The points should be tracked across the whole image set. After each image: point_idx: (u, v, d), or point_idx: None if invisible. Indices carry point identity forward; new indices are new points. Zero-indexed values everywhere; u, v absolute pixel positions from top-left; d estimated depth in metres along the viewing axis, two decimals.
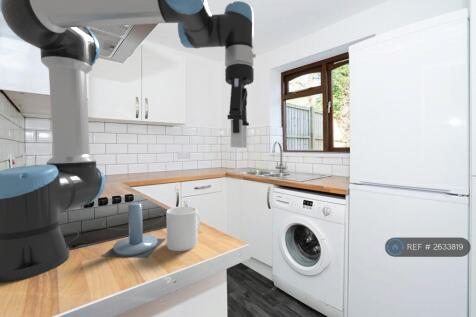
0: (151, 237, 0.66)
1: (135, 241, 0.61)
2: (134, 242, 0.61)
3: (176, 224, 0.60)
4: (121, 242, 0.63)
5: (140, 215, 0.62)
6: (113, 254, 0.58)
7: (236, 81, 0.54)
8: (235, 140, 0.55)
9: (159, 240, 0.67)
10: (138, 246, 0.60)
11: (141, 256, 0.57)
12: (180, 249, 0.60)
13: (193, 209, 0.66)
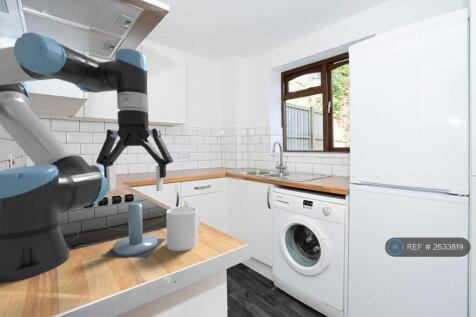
0: (151, 237, 0.66)
1: (135, 241, 0.61)
2: (134, 242, 0.61)
3: (176, 224, 0.60)
4: (121, 242, 0.63)
5: (140, 215, 0.62)
6: (113, 254, 0.58)
7: None
8: None
9: (159, 240, 0.67)
10: (138, 246, 0.60)
11: (141, 256, 0.57)
12: (180, 249, 0.60)
13: (193, 209, 0.66)
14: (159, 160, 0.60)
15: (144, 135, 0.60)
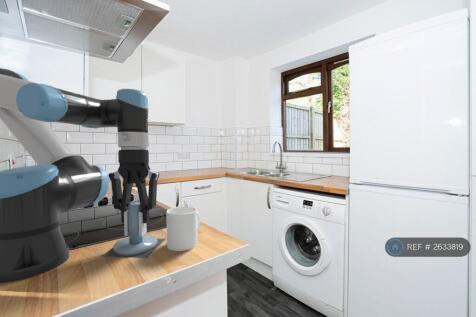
0: (151, 237, 0.66)
1: (135, 241, 0.61)
2: (134, 242, 0.61)
3: (176, 224, 0.60)
4: (121, 241, 0.63)
5: None
6: (113, 254, 0.58)
7: None
8: None
9: (159, 240, 0.67)
10: (138, 246, 0.60)
11: (141, 256, 0.57)
12: (180, 249, 0.60)
13: (193, 209, 0.66)
14: (143, 206, 0.61)
15: (143, 173, 0.61)
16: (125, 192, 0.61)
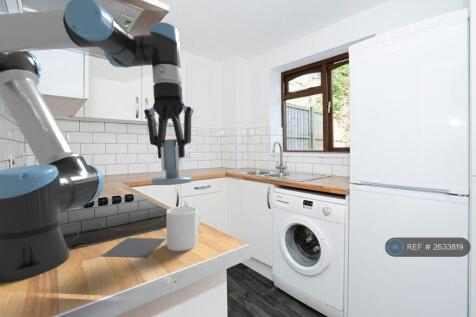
0: None
1: (172, 175, 0.62)
2: (171, 176, 0.62)
3: (176, 224, 0.60)
4: (158, 178, 0.64)
5: None
6: (113, 254, 0.58)
7: None
8: None
9: (159, 240, 0.67)
10: (176, 178, 0.61)
11: (141, 256, 0.57)
12: (180, 249, 0.60)
13: (193, 209, 0.66)
14: (180, 140, 0.62)
15: (178, 108, 0.62)
16: (161, 127, 0.62)
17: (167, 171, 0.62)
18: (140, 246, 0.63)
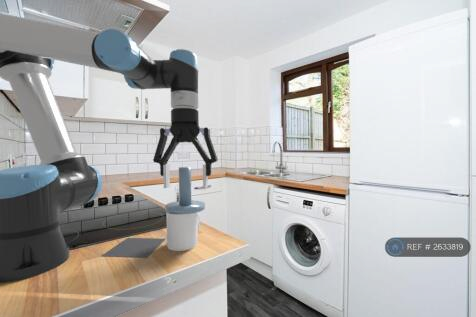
0: (197, 201, 0.69)
1: (186, 202, 0.64)
2: (185, 203, 0.64)
3: (176, 224, 0.60)
4: (171, 204, 0.66)
5: (190, 178, 0.65)
6: (113, 254, 0.58)
7: None
8: None
9: (159, 240, 0.67)
10: (189, 206, 0.63)
11: (141, 256, 0.57)
12: (180, 249, 0.60)
13: None
14: (206, 159, 0.63)
15: (195, 132, 0.63)
16: (170, 148, 0.64)
17: (181, 198, 0.64)
18: (140, 246, 0.63)
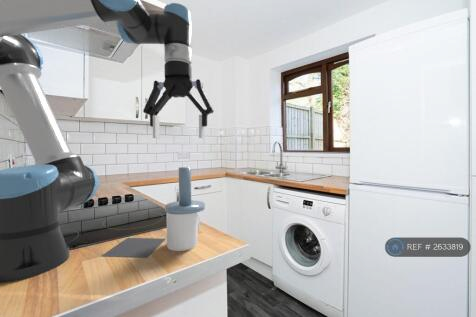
0: (197, 201, 0.69)
1: (185, 202, 0.64)
2: (185, 203, 0.64)
3: (176, 224, 0.60)
4: (171, 204, 0.66)
5: (190, 178, 0.64)
6: (113, 254, 0.58)
7: None
8: None
9: (159, 240, 0.67)
10: (189, 207, 0.63)
11: (141, 256, 0.57)
12: (180, 249, 0.60)
13: None
14: (202, 109, 0.64)
15: (188, 86, 0.65)
16: (161, 100, 0.66)
17: (181, 199, 0.64)
18: (140, 246, 0.63)
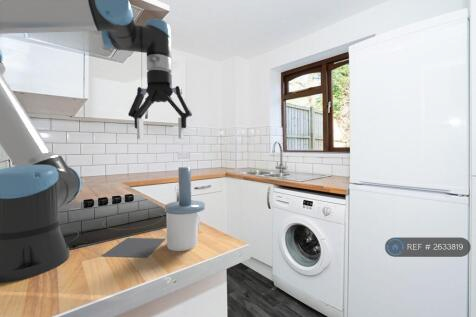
0: (197, 201, 0.69)
1: (185, 202, 0.64)
2: (184, 203, 0.64)
3: (176, 224, 0.60)
4: (171, 204, 0.66)
5: (190, 178, 0.64)
6: (113, 254, 0.58)
7: None
8: None
9: (159, 240, 0.67)
10: (189, 207, 0.62)
11: (141, 256, 0.57)
12: (180, 249, 0.60)
13: None
14: (181, 112, 0.72)
15: (169, 92, 0.73)
16: (144, 105, 0.73)
17: (180, 199, 0.64)
18: (140, 246, 0.63)
